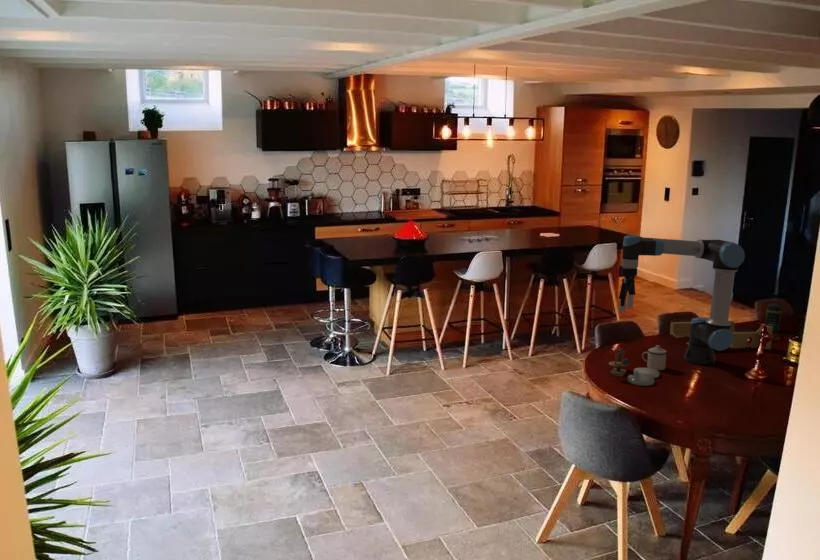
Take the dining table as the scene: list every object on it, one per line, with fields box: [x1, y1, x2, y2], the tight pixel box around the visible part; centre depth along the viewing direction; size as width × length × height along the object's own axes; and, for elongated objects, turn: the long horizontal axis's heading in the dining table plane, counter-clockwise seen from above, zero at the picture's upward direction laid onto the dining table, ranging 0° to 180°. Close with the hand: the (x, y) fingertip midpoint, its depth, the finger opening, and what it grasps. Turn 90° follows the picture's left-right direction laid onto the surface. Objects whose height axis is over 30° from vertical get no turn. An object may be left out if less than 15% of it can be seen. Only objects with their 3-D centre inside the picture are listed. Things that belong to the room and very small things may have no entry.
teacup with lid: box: [641, 344, 668, 371], centre depth 347 cm, size 12×9×12 cm
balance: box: [608, 348, 630, 378], centre depth 335 cm, size 21×6×14 cm, turn 150°
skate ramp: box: [669, 318, 773, 352], centre depth 392 cm, size 40×35×16 cm
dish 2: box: [627, 374, 655, 387], centre depth 324 cm, size 12×12×2 cm
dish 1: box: [633, 367, 661, 379], centre depth 336 cm, size 12×12×2 cm
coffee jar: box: [764, 302, 783, 333], centre depth 418 cm, size 10×8×19 cm
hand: (626, 309), depth 339 cm, fingers open, 13 cm apart
